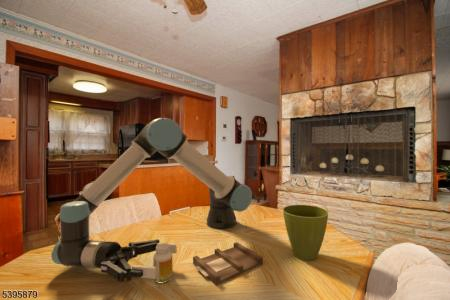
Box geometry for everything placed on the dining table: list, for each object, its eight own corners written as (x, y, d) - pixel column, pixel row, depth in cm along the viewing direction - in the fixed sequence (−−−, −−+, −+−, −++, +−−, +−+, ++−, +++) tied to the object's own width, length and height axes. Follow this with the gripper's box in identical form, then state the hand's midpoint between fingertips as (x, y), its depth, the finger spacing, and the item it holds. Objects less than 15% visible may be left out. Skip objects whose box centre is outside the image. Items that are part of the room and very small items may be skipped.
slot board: (190, 264, 71) (190, 257, 71) (236, 248, 82) (236, 242, 82) (212, 286, 60) (212, 278, 59) (263, 263, 71) (263, 256, 71)
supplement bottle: (176, 275, 65) (175, 243, 65) (165, 285, 60) (165, 251, 60) (161, 271, 67) (160, 240, 67) (149, 282, 62) (149, 248, 62)
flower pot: (325, 272, 66) (325, 220, 65) (277, 259, 73) (277, 212, 73) (331, 251, 78) (330, 208, 78) (289, 242, 86) (289, 203, 86)
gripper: (127, 247, 79) (182, 251, 75) (67, 293, 55) (144, 302, 51) (127, 227, 79) (182, 230, 75) (66, 263, 54) (143, 270, 51)
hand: (167, 259), depth 63 cm, fingers open, 13 cm apart
